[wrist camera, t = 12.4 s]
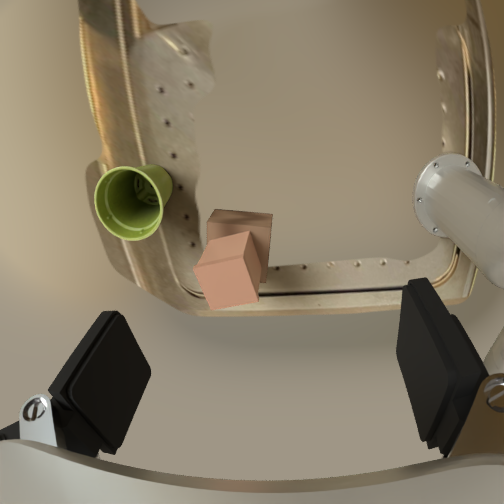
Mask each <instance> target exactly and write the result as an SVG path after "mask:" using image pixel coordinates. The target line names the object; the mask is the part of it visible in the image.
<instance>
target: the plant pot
mask: <svg viewBox="0 0 504 504" xmlns="http://www.w3.org/2000/svg"><path fill="white" fill-rule="evenodd" d="M138 179H139V188H137V180H138ZM151 184H152V185H153V187H151ZM172 190H173V184H172V179H171V177H170V176H169V174H168V173H167V172H166V171H165V170H164V169H163V168H162V167H160V166H158V165H153V164H151V165H145V166H141V167H137V168H134V167H129V166H121V167H117V168H114V169H111V170H110V171H108V172H107V173H105V174H104V175H103V176H102V177H101V179H100V180H99V182H98V184H97V187H96V190H95V195H94V200H95V208H96V212H97V215H98V217H99V219H100V221H101V222H102V224H103V225H104V226H105V228H106V229H107V230H108V231H109V232H111V233H112V234H113V235H115V236H117V237H119V238H121V239H124V240H130V241H137V240H142V239H145V238H147V237H149V236H150V235H152V234H153V233H154V232H155V231H156V230H157V228H158V227H159V225H160V223H161V221H162V217H163V208H164V206H165V205H166V203H167V201H168V200H169V198H170V196H171V194H172ZM148 199H152V200H157V202H150V201H149V200H148Z"/></svg>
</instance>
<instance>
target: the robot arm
mask: <svg viewBox="0 0 504 504" xmlns="http://www.w3.org/2000/svg"><path fill="white" fill-rule="evenodd" d="M434 163H435V165H434ZM418 198H419V199H418ZM417 199H418V200H417ZM413 208H414V211H415V214H416V217H417V219H418V221H419V222H420V223H421V225H422V226H423V227H424V228H425V229H426V230H427V231H428V232H430V233H431V234H433V235H436V236H438V237H445V238H447V237H449V238H450V239H451V240H452V241H453V242H454V243H455V244H456V245H457V246H458V247H459V248H460V250H461V251H462V252H463V253H464V254H465V255H466V256H467V257H468V258H469V259H470V260H471V261H472V262H473V263H474V265H475V266H476V267H477V268H478V269H479V270H480V271H481V272H482V273H483V275H485V277H486V278H487V279H488V280H489V281H490V282H491V283H492V284H494V285H495V286H497V287H499V288H502V289H504V188H503V187H501V186H500V185H497V184H495V183H494V182H492V181H490V180H488V179H486V178H484V177H482V175H481V172H480V170H479V169H478V167H477V166H476V165H475V164H474V163H473V162H472V161H471V160H470V159H468V158H467V157H465V156H463V155H460V154H456V153H444V154H441V155H438V156H436V157H434V158H433V159H431V160H430V161H429V162H428V163H426V165H425V166H424V167H423V168H422V169H421V171H420V173H419V175H418V176H417V179H416V182H415V184H414V189H413ZM396 354H397V359H398V362H399V366H400V369H401V372H402V375H403V378H404V381H405V385H406V388H407V392H408V395H409V398H410V402H411V405H412V409H413V413H414V416H415V420H416V423H417V428H418V432H419V436H420V439H421V441H422V442H424V441H426V442H427V446H428V449H432V448H435V447H439V450H440V453H441V454H443V456H442V458H441V459H438V460H433V461H428V462H424V463H418V464H414V465H409V466H404V467H399V468H394V469H388V470H383V471H377V472H370V473H363V474H356V475H348V476H339V477H330V478H320V479H305V480H281V481H255V480H252V481H251V480H227V479H213V478H202V477H192V476H184V475H176V474H169V473H162V472H156V471H150V470H145V469H140V468H134V467H130V466H124V465H120V464H116V463H112V462H108V461H104V460H100V457H99V454H98V452H99V449H101V451H102V452H104V453H109V454H113V455H115V454H116V451H117V449H118V448H119V447H121V445H122V443H123V441H124V438H125V436H126V433H127V431H128V428H129V426H130V423H131V421H132V419H133V416H134V414H135V411H136V409H137V407H138V404H139V402H140V400H141V397H142V395H143V393H144V390H145V388H146V386H147V383H148V381H149V379H150V376H151V369H150V366H149V364H148V362H147V360H146V359H145V357H144V355H143V353H142V351H141V349H140V347H139V345H138V344H137V342H136V339H135V338H134V335H133V333H132V332H131V329H130V327H129V326H128V323H127V321H126V319H125V317H124V316H123V315H121V314H120V313H119V312H118V311H104V312H102V313H101V314H100V315H99V317H98V318H97V319H96V321H95V322H94V323H93V325H92V326H91V328H90V329H89V330H88V332H87V333H86V335H85V336H84V338H83V339H82V340H81V342H80V343H79V345H78V346H77V347H76V349H75V350H74V352H73V353H72V354H71V356H70V357H69V359H68V360H67V362H66V363H65V365H64V366H63V368H62V369H61V371H60V372H59V374H58V375H57V377H56V378H55V380H54V381H53V383H52V384H51V386H50V387H49V389H48V391H49V393H50V394H51V395H52V396H53V397H52V399H51V400H50V399H49V397H48V396H46V395H44V394H38V395H34V396H32V397H31V398H29V399H28V400H27V401H26V402H25V403H24V404H23V406H22V408H21V410H20V415H19V421H17V422H15V423H13V424H11V425H10V426H7V427H5V428H3V429H1V430H0V504H504V327H503V329H502V331H501V332H500V334H499V336H498V337H497V339H496V341H495V342H494V344H493V346H492V347H491V349H490V350H489V352H488V354H487V356H486V357H485V359H484V362H482V360H481V358H480V357H479V354H478V353H477V351H476V349H475V347H474V345H473V344H472V342H471V340H470V339H469V337H468V335H467V333H466V331H465V330H464V328H463V326H462V325H461V323H460V321H459V320H458V318H457V317H456V316H455V315H453V314H451V315H450V313H449V312H448V310H447V309H446V307H445V305H444V304H443V302H442V300H441V299H440V297H439V296H438V294H437V292H436V291H435V289H434V288H433V286H432V285H431V283H430V282H429V280H428V279H427V278H425V277H424V278H418V279H412V280H409V281H408V285H405V286H403V290H402V302H401V314H400V323H399V332H398V340H397V347H396Z"/></svg>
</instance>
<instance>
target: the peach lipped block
mask: <svg viewBox="0 0 504 504" xmlns="http://www.w3.org/2000/svg"><path fill="white" fill-rule="evenodd" d="M261 269H262V267H261V264H260V261H259V258H258V255H257V252H256V249H255V246H254V243H253V240H252V236H251V233H250V231H246V232H242V233H238V234H234V235H230V236H226V237H222V238H218V239H214V240H210V241H209V242H208V244H207V246H206V248H205V250H204V252H203V254H202V256H201V258H200V260H199V262H198V264H197V265H194V267H193V270H194V272H195V275H196V277H197V279H198V282H199V284H200V286H201V288H202V291H203V293H204V295H205V297H206V300H207V302H208V304H209V306H210V309H211V310H215V309H221V308H227V307H232V306H238V305H243V304H249V303H254V302H259V296H258V290H259V283H260V276H261Z"/></svg>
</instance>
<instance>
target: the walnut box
mask: <svg viewBox="0 0 504 504" xmlns="http://www.w3.org/2000/svg"><path fill="white" fill-rule="evenodd" d="M272 216H273V214H268V213H257V212H246V211H233V210H222V209H215V210H214V212H213V213H212V215H211V216H210V218H209V220H208V221H207V244H208V242H209V241H210V240H214V239H218V238H222V237H226V236H230V235H234V234H238V233H242V232H246V231H250V233H251V236H252V240H253V243H254V246H255V249H256V252H257V255H258V258H259V261H260V264H261V267H262V269H261V276H260V283H266V278H267V269H268V260H269V248H270V238H271V226H272Z"/></svg>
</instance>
